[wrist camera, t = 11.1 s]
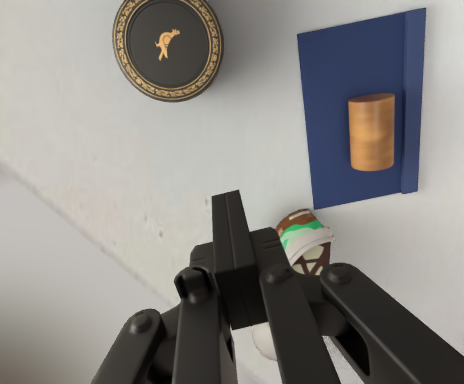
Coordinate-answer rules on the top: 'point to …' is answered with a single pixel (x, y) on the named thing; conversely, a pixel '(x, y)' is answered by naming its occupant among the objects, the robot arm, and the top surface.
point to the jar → (168, 47)
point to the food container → (305, 242)
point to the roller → (372, 131)
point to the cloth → (358, 84)
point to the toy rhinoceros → (264, 340)
